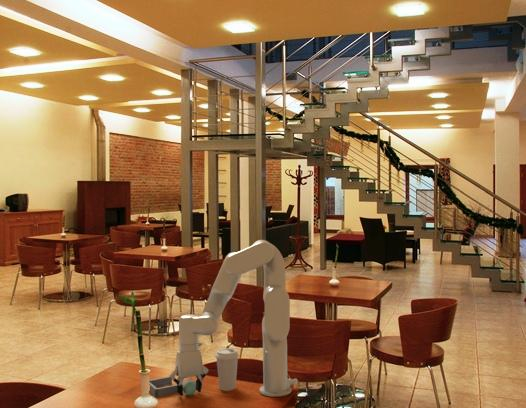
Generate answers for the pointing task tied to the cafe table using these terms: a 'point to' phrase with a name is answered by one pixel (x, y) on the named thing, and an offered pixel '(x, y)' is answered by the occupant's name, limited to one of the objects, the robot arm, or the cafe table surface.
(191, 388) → the ball
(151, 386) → the tray
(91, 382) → the cafe table surface
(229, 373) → the coffee cup
